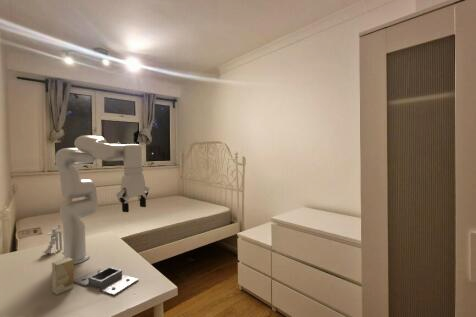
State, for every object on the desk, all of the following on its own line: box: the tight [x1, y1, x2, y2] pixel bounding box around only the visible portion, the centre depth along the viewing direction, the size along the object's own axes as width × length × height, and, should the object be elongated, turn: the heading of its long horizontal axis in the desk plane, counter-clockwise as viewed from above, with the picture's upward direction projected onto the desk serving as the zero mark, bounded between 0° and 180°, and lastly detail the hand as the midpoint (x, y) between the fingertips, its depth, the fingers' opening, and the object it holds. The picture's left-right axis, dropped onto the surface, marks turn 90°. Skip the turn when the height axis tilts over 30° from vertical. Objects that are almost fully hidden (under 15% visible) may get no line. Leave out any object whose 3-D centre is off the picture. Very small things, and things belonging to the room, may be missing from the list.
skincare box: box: [51, 257, 75, 295], centre depth 97 cm, size 6×4×12 cm
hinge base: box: [73, 266, 139, 297], centre depth 102 cm, size 26×12×4 cm, turn 66°
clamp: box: [42, 224, 63, 255], centre depth 134 cm, size 4×10×15 cm, turn 167°
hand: (134, 209), depth 105 cm, fingers open, 9 cm apart
